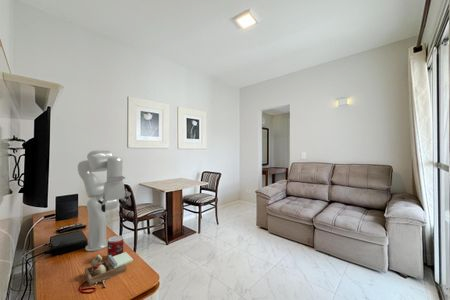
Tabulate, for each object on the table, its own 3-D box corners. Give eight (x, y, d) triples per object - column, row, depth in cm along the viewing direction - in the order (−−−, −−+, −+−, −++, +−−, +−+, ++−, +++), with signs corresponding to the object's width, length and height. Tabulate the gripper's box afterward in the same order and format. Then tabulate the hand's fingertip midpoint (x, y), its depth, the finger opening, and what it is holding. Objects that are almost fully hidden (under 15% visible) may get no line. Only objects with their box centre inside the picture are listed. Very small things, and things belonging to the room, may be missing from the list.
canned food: (109, 255, 110) (109, 236, 110) (124, 252, 112) (124, 234, 113) (105, 262, 102) (106, 242, 103) (122, 259, 105) (122, 239, 105)
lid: (108, 259, 99) (108, 255, 99) (125, 253, 105) (125, 249, 105) (114, 268, 91) (114, 263, 92) (133, 260, 98) (133, 256, 98)
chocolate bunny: (103, 268, 96) (103, 248, 96) (107, 275, 91) (107, 254, 91) (90, 273, 92) (90, 253, 92) (94, 280, 87) (94, 259, 87)
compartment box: (84, 274, 92) (84, 268, 92) (118, 261, 103) (118, 256, 103) (89, 286, 84) (89, 279, 84) (125, 271, 95) (125, 265, 95)
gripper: (128, 177, 113) (128, 205, 113) (94, 180, 101) (94, 211, 101) (133, 178, 107) (132, 208, 108) (97, 182, 95) (96, 215, 96)
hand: (113, 209), depth 104 cm, fingers open, 9 cm apart
